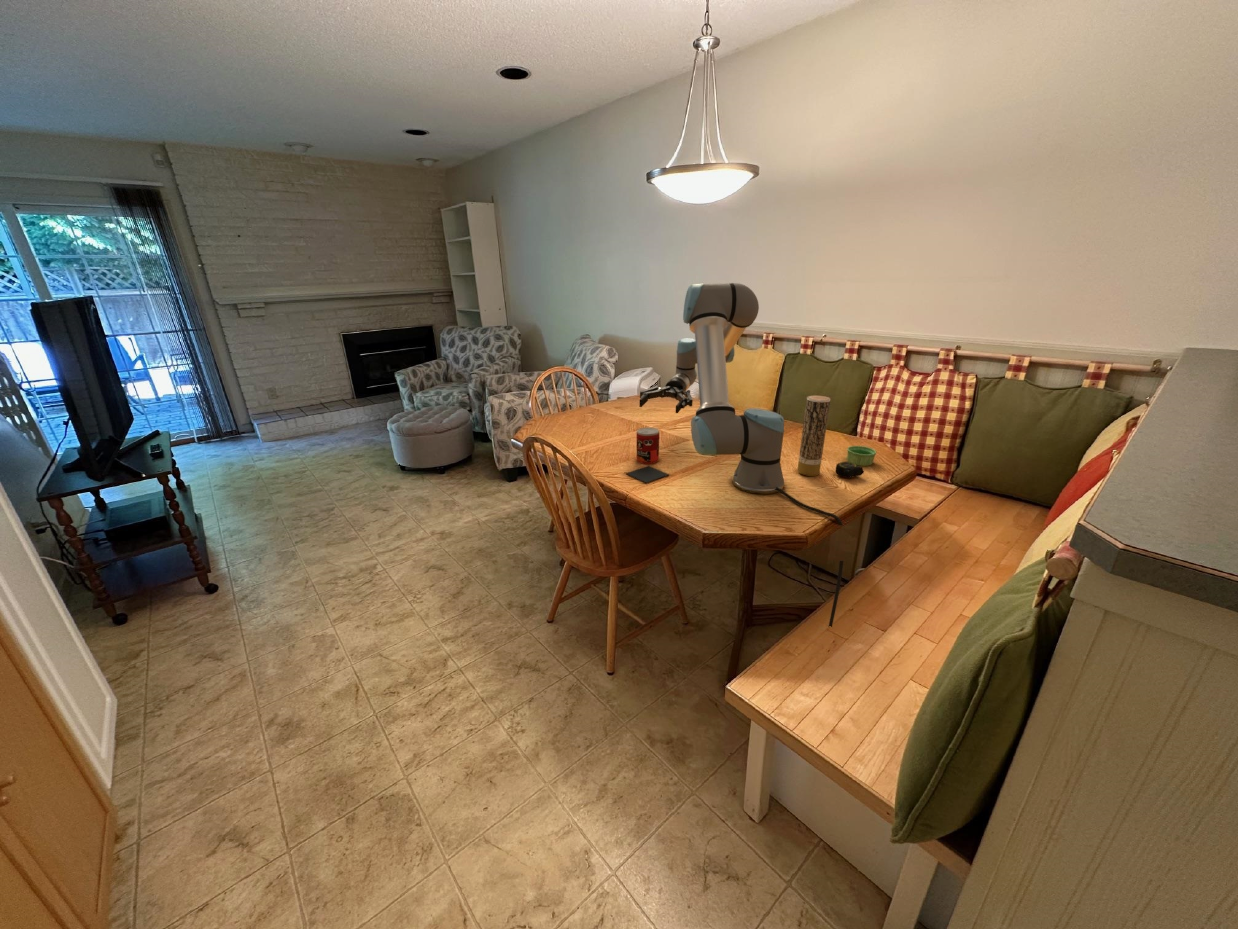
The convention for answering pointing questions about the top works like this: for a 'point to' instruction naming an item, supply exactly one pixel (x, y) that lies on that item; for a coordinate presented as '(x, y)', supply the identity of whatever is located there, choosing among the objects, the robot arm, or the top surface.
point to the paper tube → (813, 435)
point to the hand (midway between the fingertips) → (658, 406)
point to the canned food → (647, 445)
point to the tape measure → (848, 469)
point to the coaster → (647, 474)
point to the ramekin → (860, 455)
